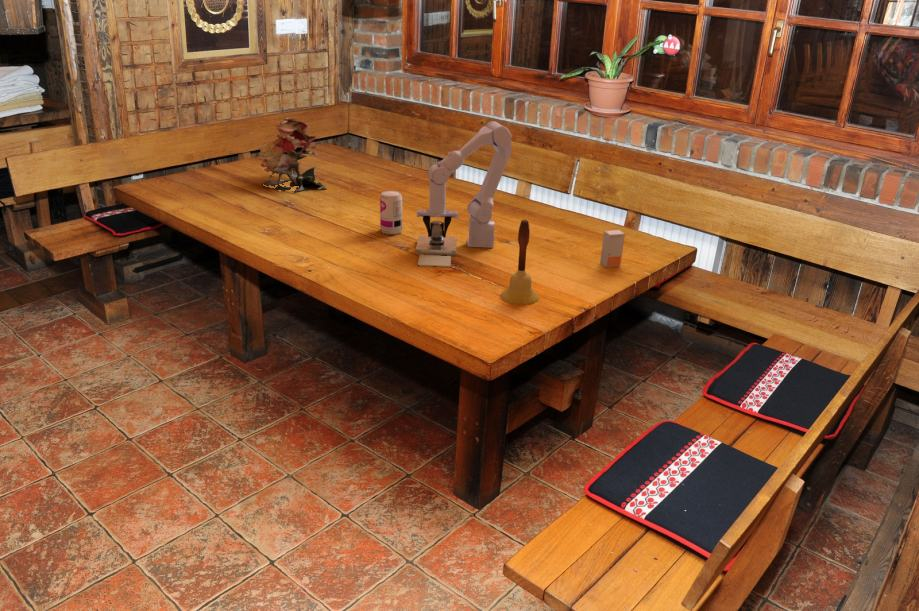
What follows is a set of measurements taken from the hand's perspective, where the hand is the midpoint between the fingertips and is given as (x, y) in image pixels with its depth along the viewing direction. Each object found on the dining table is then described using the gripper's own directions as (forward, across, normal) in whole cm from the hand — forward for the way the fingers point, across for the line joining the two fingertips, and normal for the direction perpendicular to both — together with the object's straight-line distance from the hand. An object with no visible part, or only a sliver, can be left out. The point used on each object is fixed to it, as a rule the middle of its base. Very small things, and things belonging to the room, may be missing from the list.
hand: (436, 236), depth 276 cm
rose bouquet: (+5, -68, +72) cm, 99 cm away
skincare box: (+5, +61, -10) cm, 62 cm away
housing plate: (+4, 0, 0) cm, 5 cm away
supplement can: (+5, -18, +16) cm, 24 cm away
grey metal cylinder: (+3, 0, 0) cm, 3 cm away
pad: (+4, 0, -13) cm, 14 cm away
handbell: (+5, +28, -40) cm, 49 cm away
